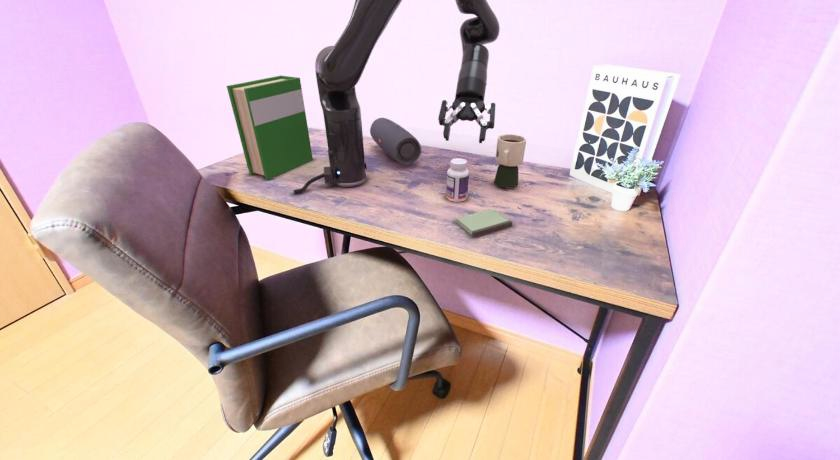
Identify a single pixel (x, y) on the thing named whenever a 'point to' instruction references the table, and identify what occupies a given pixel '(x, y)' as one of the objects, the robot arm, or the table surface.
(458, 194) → the pill bottle
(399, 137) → the bluetooth speaker
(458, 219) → the notebook
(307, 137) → the hardback book
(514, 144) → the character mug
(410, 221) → the table surface
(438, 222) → the table surface
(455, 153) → the table surface
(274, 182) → the table surface
